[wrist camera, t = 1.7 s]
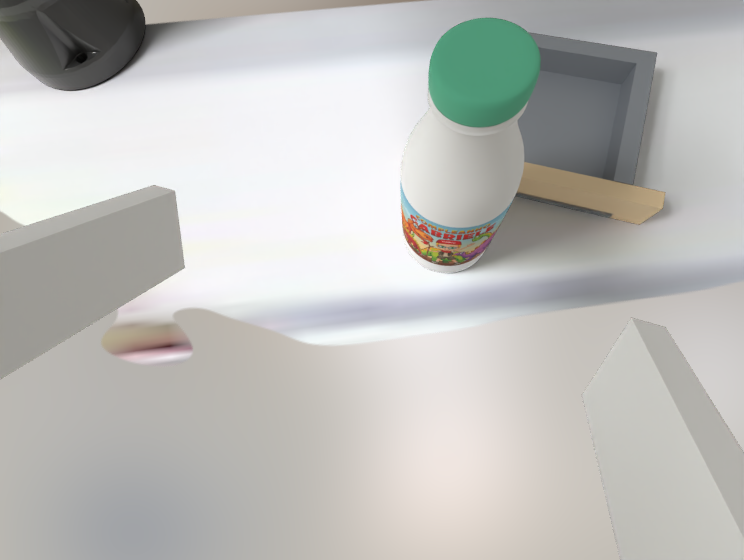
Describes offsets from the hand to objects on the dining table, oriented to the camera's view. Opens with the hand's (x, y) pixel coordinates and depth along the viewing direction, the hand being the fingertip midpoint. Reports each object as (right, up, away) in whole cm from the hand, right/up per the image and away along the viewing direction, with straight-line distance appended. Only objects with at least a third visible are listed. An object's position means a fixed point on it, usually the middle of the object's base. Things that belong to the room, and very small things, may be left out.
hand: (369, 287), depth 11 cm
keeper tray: (+17, +15, +26) cm, 34 cm away
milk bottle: (+7, +4, +24) cm, 25 cm away
